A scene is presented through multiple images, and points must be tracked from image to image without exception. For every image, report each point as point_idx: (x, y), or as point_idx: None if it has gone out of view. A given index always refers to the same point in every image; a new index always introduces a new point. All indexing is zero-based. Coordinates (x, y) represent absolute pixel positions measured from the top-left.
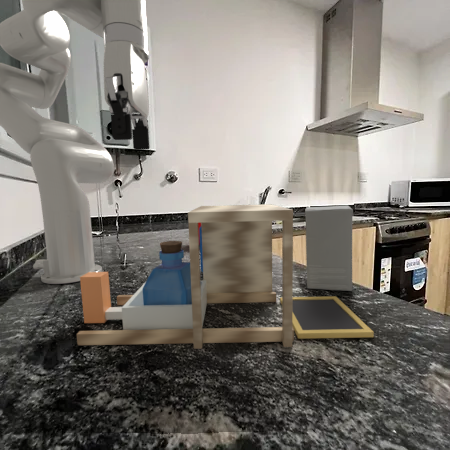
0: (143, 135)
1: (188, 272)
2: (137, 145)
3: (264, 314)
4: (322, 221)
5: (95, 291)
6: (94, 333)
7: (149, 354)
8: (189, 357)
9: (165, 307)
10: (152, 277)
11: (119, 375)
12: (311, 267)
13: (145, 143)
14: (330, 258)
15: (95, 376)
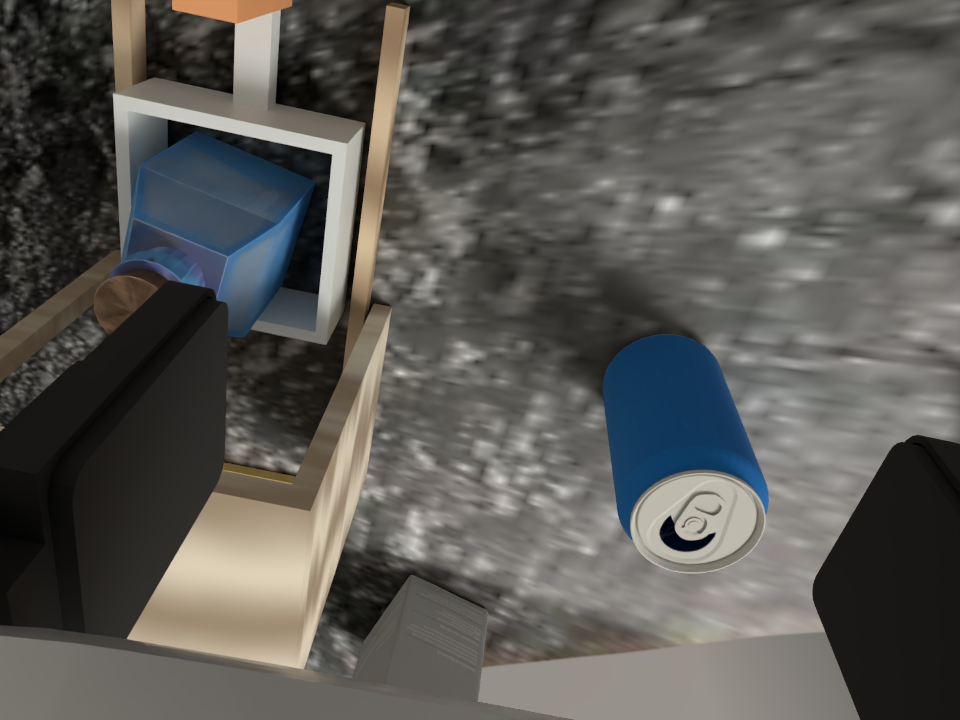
0: (903, 706)
1: None
2: (886, 508)
3: (266, 427)
4: None
5: None
6: (112, 1)
7: (92, 151)
8: (85, 237)
9: (120, 218)
10: (133, 207)
11: (17, 93)
12: (392, 629)
13: (845, 617)
14: None
15: (9, 39)
